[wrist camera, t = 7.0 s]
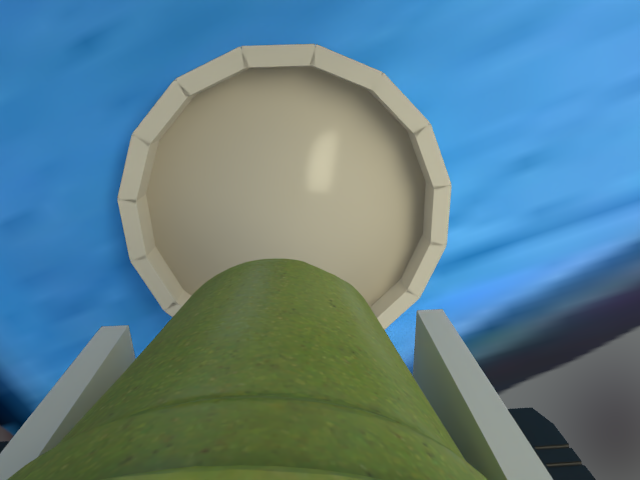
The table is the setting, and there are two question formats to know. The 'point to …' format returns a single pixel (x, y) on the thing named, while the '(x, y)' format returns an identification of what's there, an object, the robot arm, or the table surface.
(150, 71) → the table surface
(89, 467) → the plant pot
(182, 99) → the saucer
